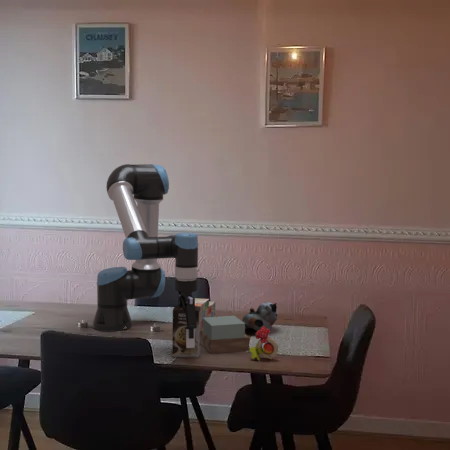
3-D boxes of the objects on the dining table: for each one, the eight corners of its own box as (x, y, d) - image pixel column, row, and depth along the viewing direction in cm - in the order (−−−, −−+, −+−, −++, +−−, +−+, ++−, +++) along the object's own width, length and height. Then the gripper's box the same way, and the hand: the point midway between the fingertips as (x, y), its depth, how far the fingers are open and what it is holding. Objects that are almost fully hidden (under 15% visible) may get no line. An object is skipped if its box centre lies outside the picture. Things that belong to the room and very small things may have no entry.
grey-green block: (202, 331, 219) (202, 317, 219) (234, 329, 223) (234, 315, 222) (211, 340, 208) (211, 325, 208) (244, 337, 211) (244, 323, 211)
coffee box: (171, 357, 203) (171, 309, 202) (174, 351, 210) (174, 305, 208) (198, 358, 203) (199, 310, 202) (200, 352, 209) (200, 306, 208)
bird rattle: (272, 362, 205) (248, 350, 207) (285, 333, 204) (261, 321, 205) (269, 368, 199) (244, 355, 201) (283, 339, 197) (258, 326, 199)
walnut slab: (200, 343, 221) (200, 330, 221) (236, 340, 226) (236, 327, 225) (210, 354, 208) (210, 340, 208) (249, 351, 212) (249, 337, 212)
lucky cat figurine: (242, 325, 246) (257, 294, 247) (268, 339, 243) (284, 308, 244) (237, 323, 231) (253, 291, 233) (265, 338, 228) (281, 305, 230)
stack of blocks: (201, 323, 251) (201, 293, 250) (215, 324, 249) (216, 294, 248) (184, 336, 230) (184, 304, 229) (200, 337, 228) (200, 305, 227)
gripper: (206, 284, 194) (206, 351, 196) (189, 272, 216) (189, 332, 218) (183, 285, 192) (183, 353, 194) (168, 273, 214) (168, 334, 216)
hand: (186, 342), depth 206 cm, fingers open, 11 cm apart
